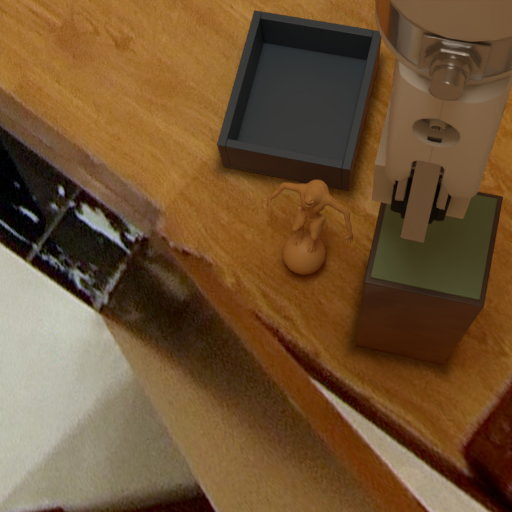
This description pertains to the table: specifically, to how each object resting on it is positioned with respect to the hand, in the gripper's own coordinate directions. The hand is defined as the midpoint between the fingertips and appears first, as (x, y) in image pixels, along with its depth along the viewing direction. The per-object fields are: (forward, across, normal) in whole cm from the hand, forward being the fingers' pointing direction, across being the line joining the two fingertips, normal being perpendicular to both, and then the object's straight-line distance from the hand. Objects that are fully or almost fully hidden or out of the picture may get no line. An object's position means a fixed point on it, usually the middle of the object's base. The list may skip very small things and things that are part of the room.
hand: (428, 162), depth 52 cm
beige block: (+1, 0, 0) cm, 1 cm away
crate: (+29, +16, +13) cm, 35 cm away
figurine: (+29, +2, +9) cm, 31 cm away
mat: (+7, -2, -2) cm, 8 cm away
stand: (+29, -2, -1) cm, 29 cm away
